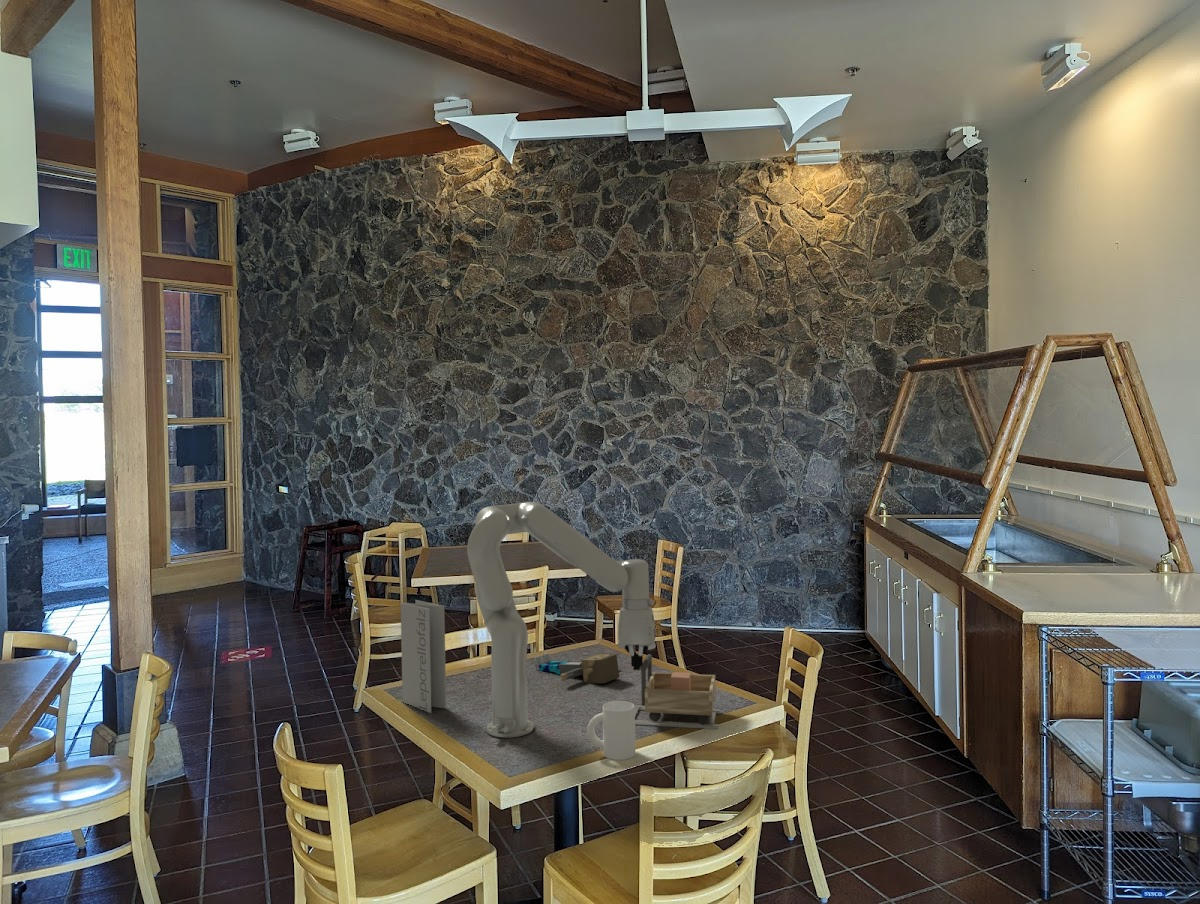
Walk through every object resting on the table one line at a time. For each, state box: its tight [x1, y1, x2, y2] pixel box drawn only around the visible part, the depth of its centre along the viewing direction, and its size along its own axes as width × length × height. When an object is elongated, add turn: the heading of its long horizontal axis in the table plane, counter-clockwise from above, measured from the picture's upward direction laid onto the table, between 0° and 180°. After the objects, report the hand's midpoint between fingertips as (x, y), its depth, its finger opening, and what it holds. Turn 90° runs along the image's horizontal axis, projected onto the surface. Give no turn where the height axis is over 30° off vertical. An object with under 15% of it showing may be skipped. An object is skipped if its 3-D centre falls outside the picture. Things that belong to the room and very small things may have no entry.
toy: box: [533, 652, 620, 684], centre depth 270 cm, size 26×8×30 cm
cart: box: [640, 653, 716, 724], centre depth 227 cm, size 16×19×15 cm
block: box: [671, 671, 692, 691], centre depth 227 cm, size 5×5×7 cm
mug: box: [586, 700, 636, 761], centre depth 202 cm, size 8×12×12 cm
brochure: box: [400, 599, 447, 714], centre depth 241 cm, size 14×6×30 cm, turn 47°
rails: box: [634, 704, 721, 730], centre depth 227 cm, size 13×26×1 cm, turn 79°
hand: (637, 668), depth 229 cm, fingers closed
